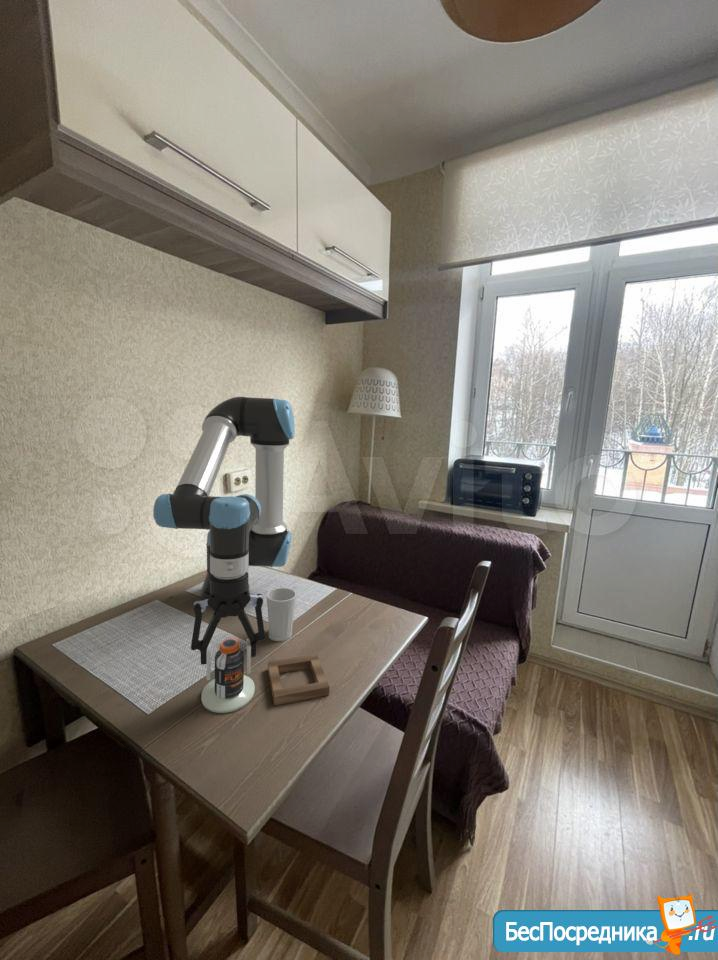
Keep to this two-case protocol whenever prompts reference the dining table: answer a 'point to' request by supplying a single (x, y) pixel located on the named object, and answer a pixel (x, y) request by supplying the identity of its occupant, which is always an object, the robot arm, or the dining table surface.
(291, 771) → the dining table surface
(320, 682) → the open wooden frame
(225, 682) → the pill bottle
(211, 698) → the pale green rounded part
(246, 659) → the robot arm
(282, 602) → the cup
